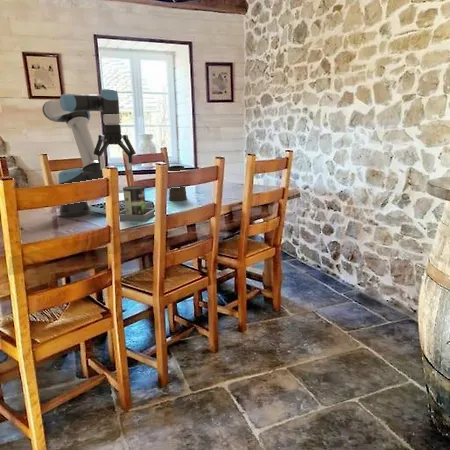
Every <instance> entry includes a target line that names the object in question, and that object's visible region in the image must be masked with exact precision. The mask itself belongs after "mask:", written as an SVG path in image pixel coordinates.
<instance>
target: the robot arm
mask: <svg viewBox="0 0 450 450" xmlns="http://www.w3.org/2000/svg"><path fill="white" fill-rule="evenodd" d="M119 99H120V98H119V93H118V90H117V89H113V88H107V89H106V88H104V89H103V88H102V89H101V90H100V94H88V93H87V94H85V93H84V94H81V93H80V94H79V93H78V94H76V93H75V94H74V93H64V94H61V95H60V98H59V99H51V100H48V101H46V102H45V103H44V104H43V105H42V110H41V111H42V114H43V116H44V117H45V119H48V120H49V121H51V122H55V123H66V125H67V127H68V128H69V129H71V131H72V134H73V137H74V141H75V144H76V147H77V150H78V153H79V156H80V158H81V162H82V165H83V166H82V168H81V167H76V168H74V167H73V168H69V169H65V170H61V171H59V173H58V184H64V183H72V182H80V181H86V180H92V179H98V178H102V177H103V176H102V169H103V168H104V167H105V168H106V166H105V157H104V156H105V155H103V154H104V153H105V151H106V149H108V147H109V146H111V145H117V146H119V147H120V148H121V150H123V152H124V154H125V155H127V156H126V168H127V171H131V170H132V163H133V156H134V155H136V151H135V149H134V147H133V144H132V143H131V142H130V139H129V136H128V134H123V135H122V129H121V128H122V127H121V119H120V118H121V117H120V103H119ZM90 112H102V119H103V124H104V125H103V129H104V135H103V134H98V138H97V139H98V140H97V143H96V146H95V144H94V141H93V138H92V135H91V132H90V129H89V127H88V124H89V122H90V120H91V113H90ZM122 139H123V140H124V141H122ZM104 140H105V142H104ZM103 142H104V144H103ZM124 143H125V144H124ZM102 144H103V145H102ZM90 213H91V207H90V206H89V203H88V202H87V200H86V202H80V203H74V204H67V205H61V204H60V207H59V216H60V217H63V218H73V217H74V218H75V217H82V216H86V215H89V214H90Z"/></svg>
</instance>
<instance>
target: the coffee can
mask: <svg viewBox="0 0 450 450" xmlns="http://www.w3.org/2000/svg"><path fill="white" fill-rule="evenodd" d="M122 190H123V197H124V198H123V199H124V210H125V211H126V214H127V215H144V214H146V208H147V207H146V193H145V186H143V185H130V186H129V185H128V186H124V187H123V188H122Z"/></svg>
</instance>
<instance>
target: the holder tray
mask: <svg viewBox="0 0 450 450" xmlns="http://www.w3.org/2000/svg"><path fill="white" fill-rule="evenodd" d="M155 208H156V207H146V214H144V215H127V214H126V211H125V209H123V210H121V211H119V212H120V220H119V221H123V222H124V221H126V222H127V221H129V222H130V221H131V222H146V221H148V220H149V219H152V218H153V217H154V216H155V215H154V212H155Z"/></svg>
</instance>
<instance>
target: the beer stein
mask: <svg viewBox="0 0 450 450" xmlns="http://www.w3.org/2000/svg"><path fill="white" fill-rule="evenodd" d="M168 170H169V171H180V170H186V168H185V166H184V165H171V166H168V167H167V171H168ZM168 195H169V197H168V199H169V201H174V202H179V201H185V200H187V199H188V196H187V190H186V186H185V187H180V188H171V189H170V188H169V193H168Z"/></svg>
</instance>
